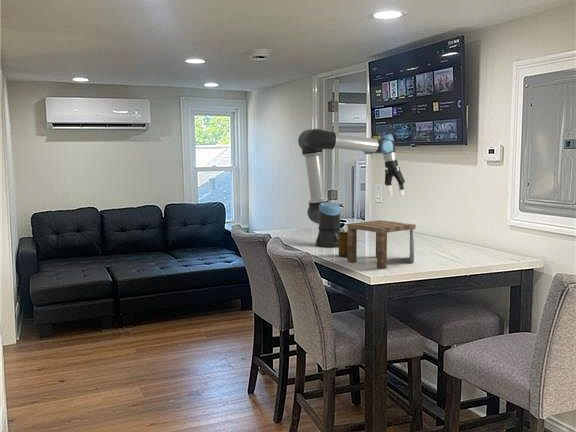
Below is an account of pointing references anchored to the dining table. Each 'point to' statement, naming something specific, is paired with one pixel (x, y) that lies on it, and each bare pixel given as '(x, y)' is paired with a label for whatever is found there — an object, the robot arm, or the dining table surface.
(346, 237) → the condiment
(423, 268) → the dining table surface
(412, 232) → the pale teal panel
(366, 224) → the step stool
